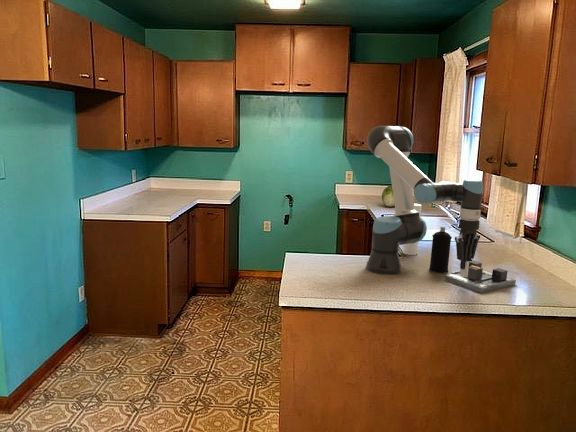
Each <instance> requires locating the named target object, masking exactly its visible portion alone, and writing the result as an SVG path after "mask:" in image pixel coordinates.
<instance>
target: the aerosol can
mask: <svg viewBox="0 0 576 432" xmlns="http://www.w3.org/2000/svg"><path fill="white" fill-rule="evenodd" d="M431 237H432V241H431V242H432V243H431V253H430V262H429V268H428V270H429V271H430V272H432V273H436V274H448V273H449V260H450V253H451V243H452V235H450V234H449V233H448V232H446V227H445V226H440V230H439V231H436V232H435V233H433V234H432V236H431Z"/></svg>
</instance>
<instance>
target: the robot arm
mask: <svg viewBox="0 0 576 432" xmlns="http://www.w3.org/2000/svg"><path fill="white" fill-rule="evenodd" d="M366 144H367V147H368V149H369V151H370V152H371V154H373V155H374V156H375V157H376V158H378V159H379V158H380V159H381V160H383V162H384V163H385V164H386V165H388V168H389V175H390V181H391V185H392V189H393V196H394V203H395V206H394V208H395V213H394V214H393V215H388V216H387V215H383V216H379V217H376V218H375V219H374V221H373V225H372V237H371V238H372V239H371V250H370V251H371V252H370V254H369V257H368V260H367V261H366V267H365V268H366V270H367V271H369V272H372V273H374V274H380V275H397V274H400V273H401V272H402V264H401V261H400V255H399V250H400V249H399V248H400V246H402V245H404V244H412V243H416V242H418V243H419V242H421V241H422V240H423V239H424V237H426V234H427V232H428V231H427V230H428V229H427V228H428V227H427V224H426V220H424V219H423V218H422V217H420V216H419V212H418V211H416V210H415V206H414V203H415V201H414V198H415V200H416V201H417V202H418V203H421V204H422V203H423V204H430V203H431V204H432V203H438V202H439V203H440V202H449V201H450V202H457V203H460V210H459V211H460V212H459V219H458V222H459V223H458V228H459V229H460V230H459V231H460V232H459V235H458V236H455V237H454V242H455V248H456V249H455V250H456V259H457V260H458V261H460V266H459V271H460V276H462V277H468V269H469V263H470V261H473V260H474V259H475V255H476V251H477V248H478V243H479V241H480V239H481V235H480V234H478V233H477V231H478V230H479V229H480V219H481V209H482V201H483V194H484V182H483V181H482V180H479V179H464V180H463V182H462V183H459V182H451V181H449V180H442V181H439V182H434V181H432V180H431V179H430V178H429V177H428V176H427V175H426V174H424V172H422V170H420V169H419V168H418V167H417V166H416V165H415V164H413V162H412V161H411V160H410V159H409V158H408V157H409V155H411V151H410V150H411V149H412V148H413V145H414V135H413V133H412V131H411V130H410V129H409V128H407V127H405V126H402V125H401V126H400V125H395V126H393V125H378V126H375V127H373V128H371V130H370V131H369V132H368V134H367V137H366Z"/></svg>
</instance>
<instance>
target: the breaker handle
mask: <svg viewBox="0 0 576 432" xmlns="http://www.w3.org/2000/svg"><path fill="white" fill-rule="evenodd" d="M483 270H484V269H483V268H480V267H477V266H473V265H472V266H470V267H469V269H468V277H467V278H470V279H473V280H479V279H482V272H483Z"/></svg>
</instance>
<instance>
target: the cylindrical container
mask: <svg viewBox="0 0 576 432" xmlns="http://www.w3.org/2000/svg"><path fill="white" fill-rule="evenodd" d="M414 206H415V210H416V211H418V212H419V216H420V217H421V216H422V203H421V204H419V203H415V202H414ZM421 218H422V217H421ZM418 249H419V242H416V243H412V244H404V245H403V246H402V254H404V255H407V254H408V256H416V254H417V255H418V251H419V250H418Z"/></svg>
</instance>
